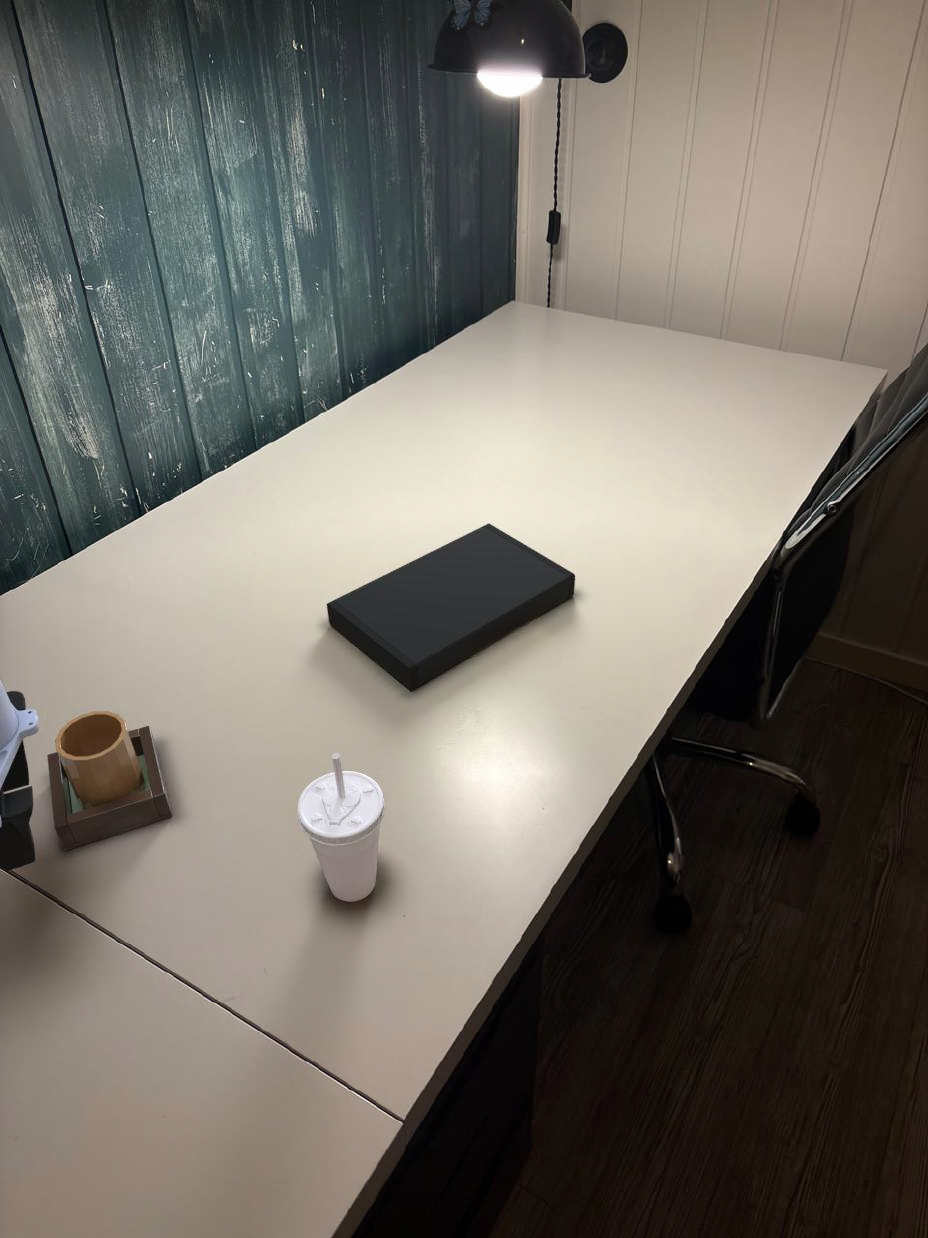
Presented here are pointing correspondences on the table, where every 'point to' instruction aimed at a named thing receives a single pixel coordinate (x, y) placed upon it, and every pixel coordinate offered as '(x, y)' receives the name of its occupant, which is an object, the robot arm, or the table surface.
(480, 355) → the table surface
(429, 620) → the external hard drive
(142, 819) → the cup holder
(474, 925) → the table surface
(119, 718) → the paper cup
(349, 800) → the smoothie
